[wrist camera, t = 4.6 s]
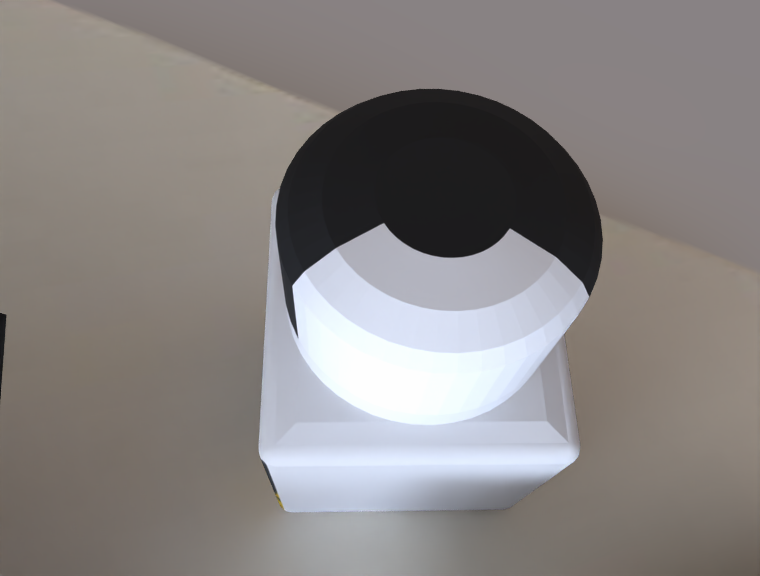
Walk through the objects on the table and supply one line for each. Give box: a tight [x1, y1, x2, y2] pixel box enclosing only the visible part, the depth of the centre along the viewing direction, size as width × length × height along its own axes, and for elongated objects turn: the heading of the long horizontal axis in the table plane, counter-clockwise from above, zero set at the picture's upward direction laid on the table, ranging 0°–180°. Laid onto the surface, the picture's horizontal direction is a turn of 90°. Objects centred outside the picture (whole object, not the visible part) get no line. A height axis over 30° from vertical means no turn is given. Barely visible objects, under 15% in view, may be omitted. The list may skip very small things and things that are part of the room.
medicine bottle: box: [259, 89, 603, 512], centre depth 18 cm, size 7×7×12 cm
